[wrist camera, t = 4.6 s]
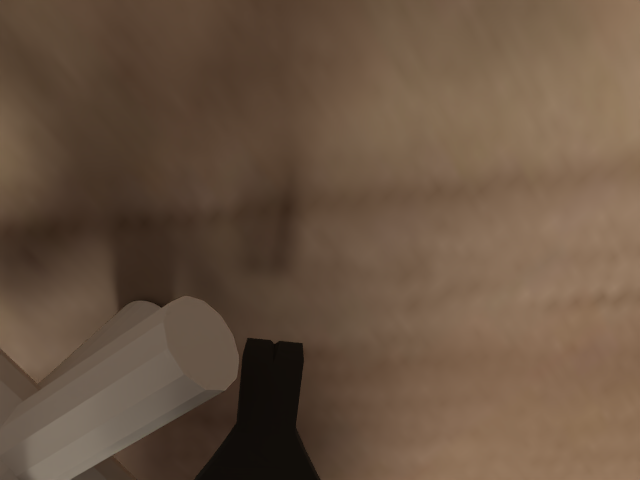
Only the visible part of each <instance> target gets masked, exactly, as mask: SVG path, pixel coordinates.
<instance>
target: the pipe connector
mask: <svg viewBox="0 0 640 480" xmlns="http://www.w3.org/2000/svg"><path fill="white" fill-rule="evenodd" d="M238 365H239V354H238V351H237V347H236V343H235V340H234V336H233V334H232V332H231V331H230V329H229V328H228V326H227V324H226V323H225V321H224V320H223V318H222V316H221V315H220V314H219V313H218V312H216V311H215V310H214V309H213V308H212V307H211V306H209V305H208V304H207V303H206V302H205V301H204V300H200V299H197V298H193V297H190V296H186V295H185V296H183V297H180V298H178V299H176V300H174V301H171V302H170V303H168V304H167V305H165V306H164V307H162V308H161V307H159V306H158V305H156V304H154V303H151V302H148V301H134V302H131V303H129V304H127V305H126V306H125V307H123V308H122V309H121V310H120V311H119V312H118V313H117V314H116V315H115V316H113V317H112V318H111V319H110V320H109V321H108V322H107V323H106V324H104V325H103V326H102V327H101V328H100V329H99V330H98V331H97V332H96V333H94V334H93V335H92V336H91V337H90V338H89V339H88V340H87V341H86V342H84V343H83V344H82V345H81V346H80V347H79V348H78V349H77V350H75V351H74V352H73V353H72V354H71V355H70V356H69V357H68V358H67V359H65V360H64V361H63V362H62V363H61V364H60V365H59V366H58V367H57V368H55V369H54V370H53V371H52V372H51V373H50V374H49V375H48V376H46V377H45V378H44V379H43V380H42V381H41V382H40V383H39V384H37V383H36V382H35V381H34V380H33V379H32V378H31V377H30V376H28V375H27V374H26V373H25V372H24V371H23V370H22V369H21V368H20V367H19V366H18V365H17V364H16V363H15V362H14V361H13V360H12V359H11V358H10V357H9V356H8V355H7V354H6V353H4V352H3V351H2V350H1V349H0V480H137V479H136V478H135V477H134V476H133V475H132V474H131V473H130V472H129V471H128V470H127V469H125V468H124V467H123V466H122V465H121V464H120V463H119V462H118V461H117V460H116V459H115V458H114V457H113V456H112V455H114V454H115V453H117V452H119V451H121V450H122V449H124V448H126V447H127V446H129V445H131V444H133V443H134V442H136V441H138V440H140V439H141V438H143V437H145V436H147V435H148V434H150V433H152V432H154V431H155V430H157V429H159V428H161V427H162V426H164V425H166V424H168V423H169V422H171V421H173V420H174V419H176V418H178V417H180V416H181V415H183V414H185V413H187V412H188V411H190V410H192V409H194V408H195V407H197V406H199V405H201V404H202V403H204V402H206V401H208V400H209V399H211V398H213V397H215V396H216V395H218V394H220V393H221V392H223V391H225V390H226V389H227V388H228V387H229V386H230V385H231V384H232V383H233V382H234V381H235V379H236V378H237V374H238Z"/></svg>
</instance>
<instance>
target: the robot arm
mask: <svg viewBox="0 0 640 480" xmlns="http://www.w3.org/2000/svg"><path fill="white" fill-rule="evenodd" d="M303 363H304V357H303V345H302V343H293V342H283V341H279V342H277V343H276V344H274V343H273V342H272V341H271V340H263V339H253V338H247V342H246V345H245V349H244V353H243V359H242V369H241V380H240V391H239V402H238V413H237V423H236V424H235V426H234V427H233V429H232V430H231V432H230V433H229V435H228V436H227V437H226V439H225V440H224V442H223V443H222V444H221V446H220V447H219V448H218V450H217V451H216V452H215V454H214V455H213V456H212V458H211V459H210V460H209V462H208V463H207V464H206V465H205V467H204V468H203V469H202V470H201V471H200V473H199V474H198V475H197V476H196V478H195V479H194V480H320V478H319V476H318V474H317V472H316V470H315V468H314V466H313V464H312V462H311V460H310V458H309V456H308V454H307V452H306V450H305V447H304V445H303V443H302V441H301V438H300V436H299V434H298V431H297V429H296V418H297V410H298V402H299V394H300V387H301V379H302V371H303Z"/></svg>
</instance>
